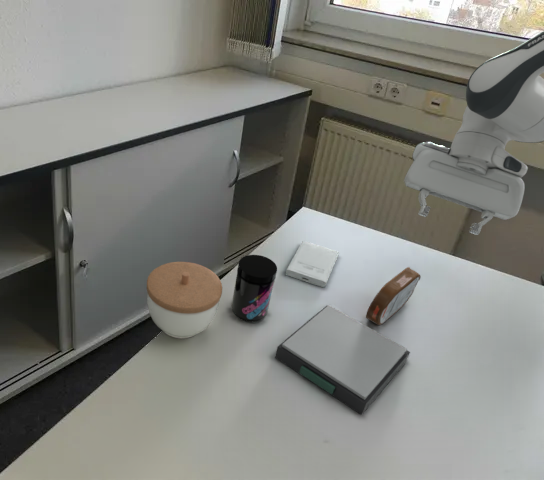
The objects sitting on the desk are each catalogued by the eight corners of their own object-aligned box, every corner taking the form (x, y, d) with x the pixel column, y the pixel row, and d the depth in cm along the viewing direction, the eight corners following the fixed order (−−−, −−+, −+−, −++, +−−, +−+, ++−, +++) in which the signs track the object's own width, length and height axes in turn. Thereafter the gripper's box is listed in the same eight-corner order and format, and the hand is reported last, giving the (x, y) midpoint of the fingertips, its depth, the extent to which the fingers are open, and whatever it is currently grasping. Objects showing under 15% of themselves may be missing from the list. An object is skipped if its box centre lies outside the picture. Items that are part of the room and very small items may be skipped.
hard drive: (337, 257, 117) (324, 288, 107) (300, 246, 119) (285, 274, 110) (339, 251, 116) (326, 281, 106) (302, 240, 118) (286, 268, 109)
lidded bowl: (161, 358, 87) (165, 305, 81) (133, 309, 97) (136, 259, 91) (229, 339, 92) (238, 289, 86) (196, 295, 102) (202, 246, 96)
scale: (405, 362, 92) (411, 349, 90) (360, 416, 81) (365, 402, 79) (324, 315, 100) (327, 302, 98) (273, 358, 90) (276, 345, 88)
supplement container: (231, 322, 96) (240, 276, 90) (229, 298, 102) (237, 253, 96) (269, 325, 96) (280, 279, 91) (264, 301, 102) (274, 256, 96)
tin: (398, 293, 108) (412, 259, 103) (413, 301, 106) (427, 266, 101) (360, 325, 98) (372, 289, 94) (375, 335, 97) (389, 298, 92)
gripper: (422, 133, 101) (396, 201, 100) (537, 170, 96) (510, 241, 96) (414, 143, 107) (389, 208, 106) (522, 178, 102) (496, 245, 102)
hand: (447, 224), depth 101 cm, fingers open, 8 cm apart
